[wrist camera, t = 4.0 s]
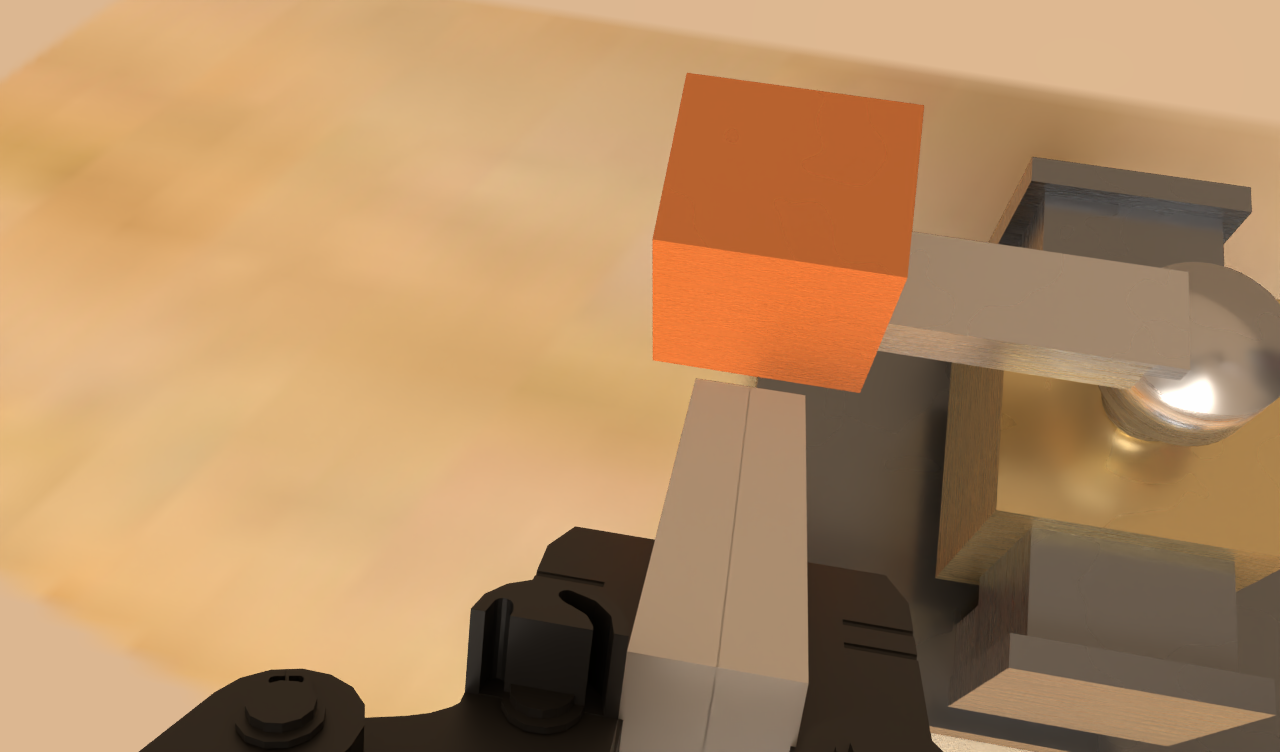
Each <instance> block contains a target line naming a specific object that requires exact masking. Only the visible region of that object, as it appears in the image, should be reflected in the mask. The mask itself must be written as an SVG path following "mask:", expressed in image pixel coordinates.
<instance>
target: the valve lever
mask: <svg viewBox="0 0 1280 752" xmlns="http://www.w3.org/2000/svg"><path fill="white" fill-rule="evenodd" d="M923 112H924V105H918V104H911V103H903V102H896V101H889V100H881V99H874V98H867V97H860V96H852V95H845V94H838V93H830V92H823V91H816V90H809V89H801V88H794V87H787V86H779V85H772V84H765V83H758V82H750V81H743V80H736V79H728V78H721V77H714V76H706V75H699V74H692V73H687V75H686V80H685V84H684V89H683V94H682V99H681V104H680V109H679V114H678V118H677V123H676V128H675V133H674V138H673V143H672V148H671V153H670V157H669V162H668V167H667V172H666V177H665V182H664V187H663V191H662V196H661V201H660V206H659V211H658V216H657V221H656V226H655V230H654V235H653V360H655V361H662V362H668V363H674V364H680V365H687V366H693V367H699V368H706V369H712V370H718V371H724V372H731V373H737V374H743V375H750V376H756V377H762V378H768V379H775V380H781V381H787V382H794V383H800V384H806V385H812V386H819V387H825V388H831V389H837V390H844V391H850V392H856V393H860V392H861V389H862V387H863V385H864V382H865V380H866V377H867V375H868V373H869V370H870V368H871V365H872V363H873V360H874V358H875V356H876V353H877V351H883V352H889V353H896V354H902V355H908V356H915V357H921V358H928V359H934V360H940V361H947V362H953V363H960V364H966V365H973V366H979V367H985V368H992V369H998V370H1005V371H1011V372H1017V373H1024V374H1030V375H1037V376H1043V377H1050V378H1056V379H1062V380H1069V381H1075V382H1082V383H1088V384H1094V385H1098V387H1099V389H1100V391H1101V393H1102V395H1103V397H1104V399H1105V400H1106V402H1107V403H1108V405H1109V406H1110V407H1111V408H1112V410H1113V411H1114V412H1115V413H1116V414H1117V415H1118V416H1119V417H1120V418H1121V419H1122V420H1123V421H1124V422H1125V423H1127V424H1128V425H1129V426H1131V427H1132V428H1133V429H1135V430H1137V431H1138V432H1140V433H1142V434H1143V435H1145V436H1147V437H1150V438H1152V439H1154V440H1157V441H1160V442H1163V443H1167V444H1171V445H1176V446H1186V447H1190V446H1203V445H1209V444H1212V443H1216V442H1219V441H1221V440H1223V439H1225V438H1227V437H1229V436H1230V435H1232V434H1233V433H1235V432H1236V431H1237V430H1239V429H1240V428H1241V427H1243V426H1244V425H1245V424H1246V423H1248V422H1249V421H1250V420H1251V419H1253V418H1254V417H1255V416H1256V415H1258V414H1259V413H1260V412H1261V411H1263V410H1264V409H1265V408H1267V407H1268V406H1269V405H1270V404H1272V403H1273V402H1274V401H1275V400H1276V399H1278V398H1279V397H1280V304H1279V302H1278V301H1277V300H1276V299H1275V298H1274V297H1273V296H1272V295H1271V294H1270V293H1269V292H1268V291H1267V290H1266V289H1265V288H1263V287H1262V286H1261V285H1260V284H1258V283H1257V282H1255V281H1254V280H1252V279H1251V278H1249V277H1247V276H1245V275H1244V274H1242V273H1240V272H1237V271H1235V270H1233V269H1230V268H1227V267H1224V266H1221V265H1216V264H1211V263H1204V262H1183V263H1176V264H1172V265H1168V266H1165V267H1162V268H1158V267H1151V266H1144V265H1137V264H1130V263H1123V262H1117V261H1110V260H1103V259H1096V258H1089V257H1083V256H1076V255H1069V254H1062V253H1055V252H1048V251H1042V250H1035V249H1028V248H1021V247H1014V246H1008V245H1001V244H994V243H987V242H980V241H973V240H967V239H960V238H953V237H946V236H939V235H933V234H926V233H919V232H912V226H913V216H914V206H915V195H916V185H917V174H918V164H919V154H920V143H921V133H922V122H923Z"/></svg>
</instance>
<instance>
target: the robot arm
mask: <svg viewBox="0 0 1280 752" xmlns="http://www.w3.org/2000/svg"><path fill="white" fill-rule="evenodd" d="M139 752H943V751H942V750H941V749H940V748H939V747H938V746H937V745H936V744H935V743H934V742H933V741H932V739H931V733H930V727H929V721H928V715H927V709H926V703H925V697H924V691H923V685H922V679H921V673H920V667H919V662H918V661H917V650H916V644H915V638H914V637H913V626H912V620H911V614H910V608H909V603H908V602H907V600H906V599H905V598H904V597H903V595H902V594H901V593H900V592H899V591H898V589H897V588H896V587H895V586H894V585H893V583H892V582H891V581H890V580H889V579H888V577H887V576H886V575H882V574H876V573H870V572H864V571H858V570H852V569H846V568H840V567H834V566H828V565H822V564H816V563H810V562H807V501H806V412H805V395H800V394H793V393H787V392H781V391H774V390H768V389H761V388H755V387H748V386H742V385H735V384H729V383H722V382H716V381H710V380H703V379H697V378H696V379H695V383H694V387H693V391H692V395H691V399H690V403H689V407H688V411H687V415H686V419H685V423H684V427H683V431H682V435H681V439H680V443H679V447H678V451H677V455H676V459H675V463H674V467H673V471H672V475H671V479H670V483H669V487H668V491H667V495H666V498H665V502H664V506H663V510H662V514H661V518H660V522H659V526H658V530H657V534H656V538H655V540H653V539H647V538H641V537H635V536H629V535H623V534H617V533H611V532H605V531H599V530H593V529H587V528H581V527H574V528H572V529H571V530H569V531H568V532H567V533H565V534H564V535H562V536H561V537H559V538H558V539H556V540H555V541H554V542H552V543H551V544H549V545H548V546H547V549H546V551H545V553H544V556H543V558H542V560H541V563H540V565H539V567H538V570H537V574H536V575H535V576H534V579H533V580H529V581H522V582H516V583H509V584H506V585H504V586H501V587H499V588H497V589H495V590H492V591H490V592H488V593H486V594H484V595H483V596H482V597H481V599H480V600H479V601H478V602H477V603H476V604H475V605H474V606H473V607H472V608H471V615H470V629H469V643H468V657H467V671H466V685H465V693H464V695H463V697H462V700H461V702H460V703H458V704H456V705H454V706H452V707H449V708H446V709H443V710H439V711H436V712H432V713H427V714H419V715H410V716H396V717H373V718H365V704H364V703H363V701H362V700H361V699H360V697H359V696H358V694H357V693H356V691H355V690H354V688H353V687H352V686H350V685H348V684H346V683H344V682H343V681H341V680H339V679H337V678H336V677H334V676H332V675H330V674H325V673H320V672H315V671H311V670H306V669H282V670H269V671H265V672H261V673H257V674H254V675H250V676H246V677H242V678H239V679H238V680H236V681H234V682H232V683H230V684H229V685H227V686H225V687H223V688H222V689H220V690H218V691H216V692H214V693H213V694H212V695H211V696H209V697H208V698H207V699H205V700H204V701H203V702H202V703H200V704H199V705H198V706H197V707H195V708H194V709H193V710H192V711H190V712H189V713H188V714H186V715H185V716H184V717H183V718H181V719H180V720H179V721H177V722H176V723H175V724H174V725H172V726H171V727H170V728H169V729H167V730H166V731H165V732H163V733H162V734H161V735H160V736H158V737H157V738H156V739H155V740H154V741H152V742H151V743H149V744H148V745H147V746H146V747H144V748H143V749H142V750H140V751H139Z"/></svg>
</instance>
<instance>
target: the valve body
mask: <svg viewBox="0 0 1280 752" xmlns="http://www.w3.org/2000/svg"><path fill="white" fill-rule="evenodd" d="M1251 212H1252V205H1251V187H1244V186H1237V185H1230V184H1223V183H1216V182H1208V181H1201V180H1194V179H1187V178H1180V177H1173V176H1166V175H1158V174H1151V173H1144V172H1137V171H1130V170H1123V169H1115V168H1108V167H1101V166H1094V165H1087V164H1080V163H1073V162H1065V161H1058V160H1051V159H1044V158H1037V157H1032V159H1031V161H1030V163H1029V165H1028V167H1027V169H1026V171H1025V173H1024V174H1023V176H1022V178H1021V180H1020V182H1019V184H1018V186H1017V188H1016V190H1015V192H1014V194H1013V196H1012V198H1011V200H1010V202H1009V204H1008V206H1007V208H1006V209H1005V211H1004V213H1003V215H1002V217H1001V219H1000V221H999V223H998V225H997V227H996V229H995V231H994V233H993V235H992V237H991V239H990V241H989V243H994V244H1001V245H1008V246H1014V247H1021V248H1028V249H1035V250H1042V251H1048V252H1055V253H1062V254H1069V255H1076V256H1083V257H1089V258H1096V259H1103V260H1110V261H1117V262H1123V263H1130V264H1137V265H1144V266H1151V267H1158V268H1162V267H1165V266H1168V265H1172V264H1176V263H1183V262H1204V263H1211V264H1216V265H1221V266H1224V248H1223V244H1224V243H1225V242H1226V241H1227V240H1228V239H1229V237H1230V236H1231V235H1232V234H1233V233H1234V232H1235V231H1236V229H1237V228H1238V227H1239V226H1240V225H1241V224H1242V223H1243V221H1244V220H1245V219H1246V218H1247V217H1248V216H1249V215H1250V214H1251ZM1277 301H1278V302H1279V304H1280V300H1277ZM756 388H761V389H768V390H774V391H781V392H787V393H793V394H800V395H805V412H806V501H807V562H810V563H816V564H822V565H828V566H834V567H840V568H846V569H852V570H858V571H864V572H870V573H876V574H882V575H886V576H887V577H888V579H889V580H890V581H891V582H892V583H893V585H894V586H895V587H896V588H897V589H898V591H899V592H900V593H901V594H902V595H903V597H904V598H905V599H906V600H907V602H908V603H909V608H910V614H911V620H912V626H913V637H914V638H915V644H916V650H917V661H918V662H919V667H920V673H921V679H922V685H923V691H924V697H925V703H926V709H927V715H928V721H929V727H930V733H936V734H941V735H947V736H952V737H958V738H963V739H969V740H974V741H980V742H985V743H990V744H996V745H1001V746H1007V747H1012V748H1018V749H1023V750H1029V751H1034V752H1280V397H1279V398H1278V399H1276V400H1275V401H1274V402H1273V403H1272V404H1270V405H1269V406H1268V407H1267V408H1265V409H1264V410H1263V411H1261V412H1260V413H1259V414H1258V415H1256V416H1255V417H1254V418H1253V419H1251V420H1250V421H1249V422H1248V423H1246V424H1245V425H1244V426H1243V427H1241V428H1240V429H1239V430H1237V431H1236V432H1235V433H1233V434H1232V435H1230V436H1229V437H1227V438H1225V439H1223V440H1221V441H1219V442H1216V443H1212V444H1209V445H1203V446H1190V447H1186V446H1176V445H1171V444H1167V443H1163V442H1160V441H1157V440H1154V439H1152V438H1150V437H1147V436H1145V435H1143V434H1142V433H1140V432H1138V431H1137V430H1135V429H1133V428H1132V427H1131V426H1129V425H1128V424H1127V423H1125V422H1124V421H1123V420H1122V419H1121V418H1120V417H1119V416H1118V415H1117V414H1116V413H1115V412H1114V411H1113V410H1112V408H1111V407H1110V406H1109V405H1108V403H1107V402H1106V400H1105V399H1104V397H1103V395H1102V393H1101V391H1100V389H1099V387H1098V385H1094V384H1088V383H1082V382H1075V381H1069V380H1062V379H1056V378H1050V377H1043V376H1037V375H1030V374H1024V373H1017V372H1011V371H1005V370H998V369H992V368H985V367H979V366H973V365H966V364H960V363H953V362H947V361H940V360H934V359H928V358H921V357H915V356H908V355H902V354H896V353H889V352H883V351H877V353H876V356H875V358H874V360H873V363H872V365H871V368H870V370H869V373H868V375H867V377H866V380H865V382H864V385H863V387H862V389H861V392H860V393H856V392H850V391H844V390H837V389H831V388H825V387H819V386H812V385H806V384H800V383H794V382H787V381H781V380H775V379H768V378H762V377H757V384H756Z"/></svg>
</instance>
